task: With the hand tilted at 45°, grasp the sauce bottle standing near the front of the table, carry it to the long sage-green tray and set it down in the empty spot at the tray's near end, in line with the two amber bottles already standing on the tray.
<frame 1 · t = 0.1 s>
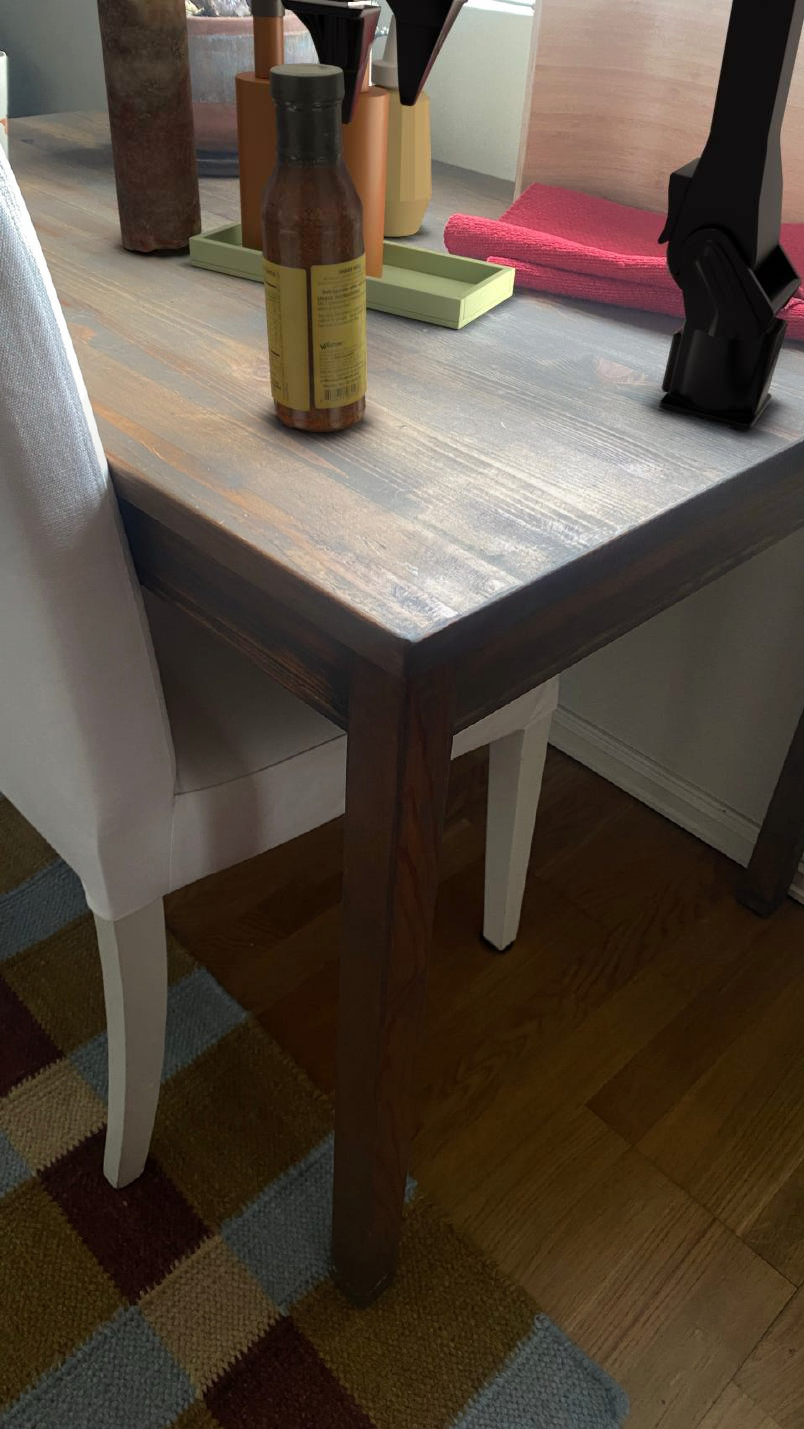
hand: (376, 114, 74), 15 cm above the table, tool pointing down, fingers open, 9 cm apart
bottle tray: (349, 280, 91), on the table
sauce bottle: (316, 419, 69), on the table
squeeze bottle: (389, 232, 104), on the table
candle: (163, 247, 97), on the table
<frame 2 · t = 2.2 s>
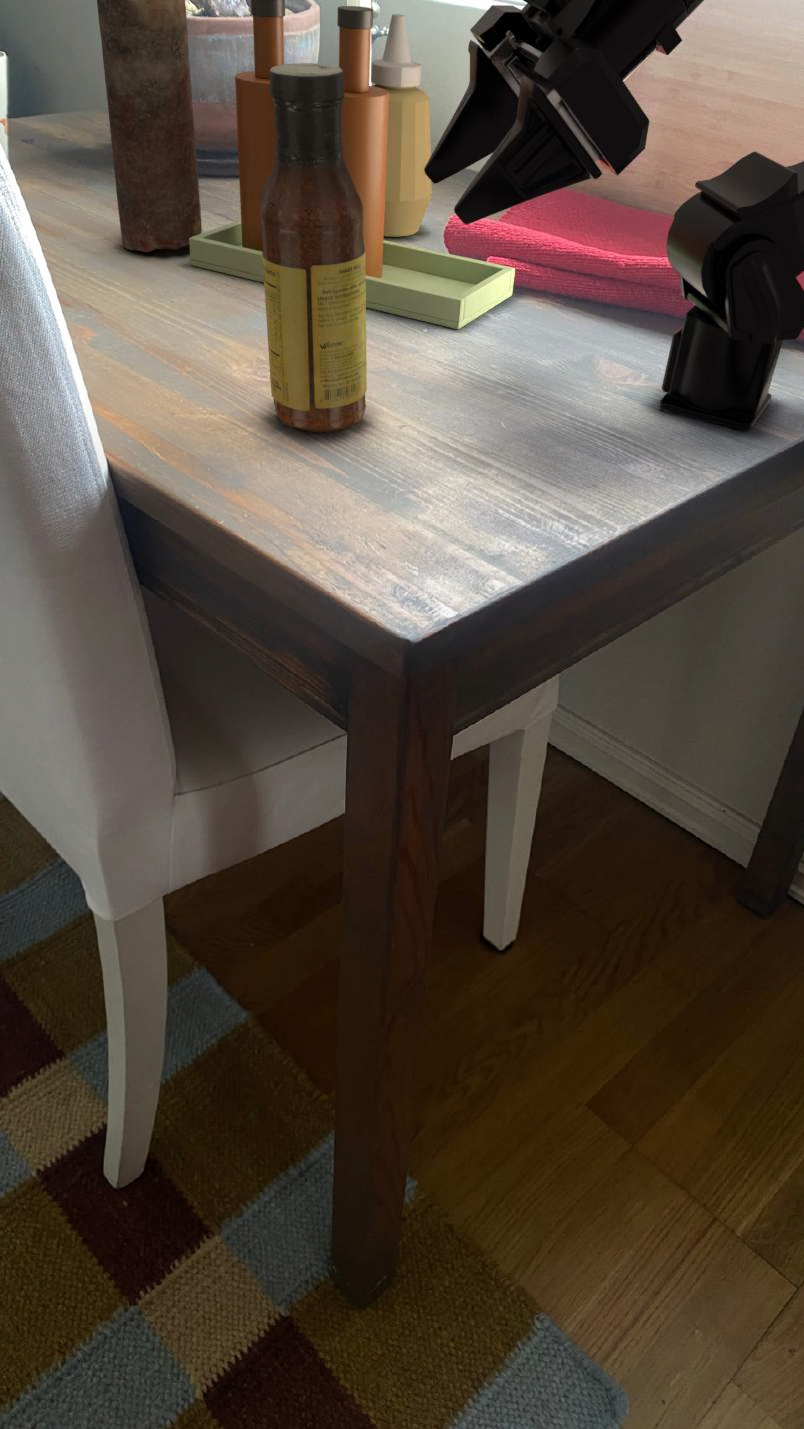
hand: (443, 196, 62), 13 cm above the table, tool tilted 45°, fingers open, 9 cm apart
nothing on the table moved.
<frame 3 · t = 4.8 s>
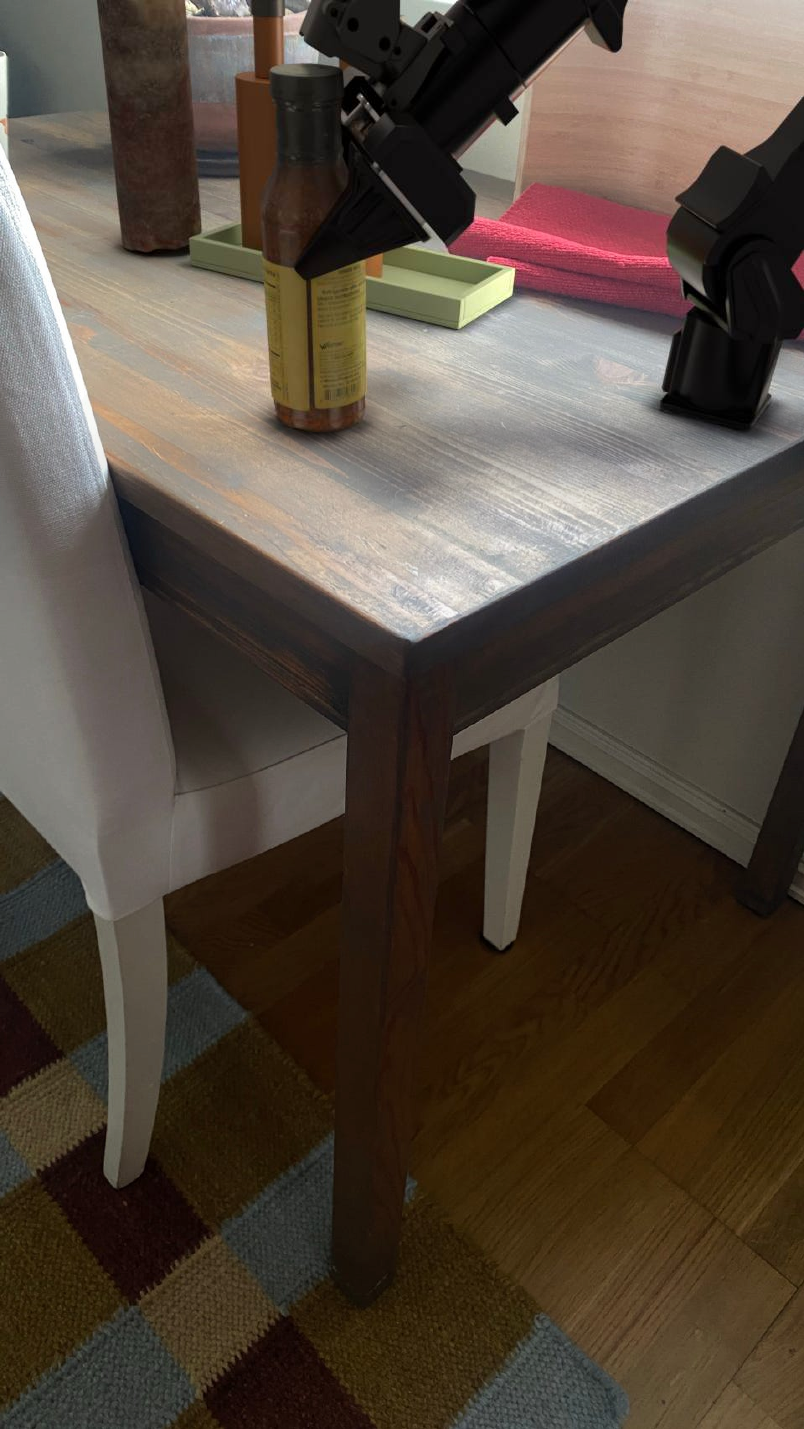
hand: (293, 257, 62), 10 cm above the table, tool tilted 45°, fingers closed on sauce bottle, 6 cm apart
sauce bottle: (316, 419, 69), on the table, touching gripper
everything else where it was.
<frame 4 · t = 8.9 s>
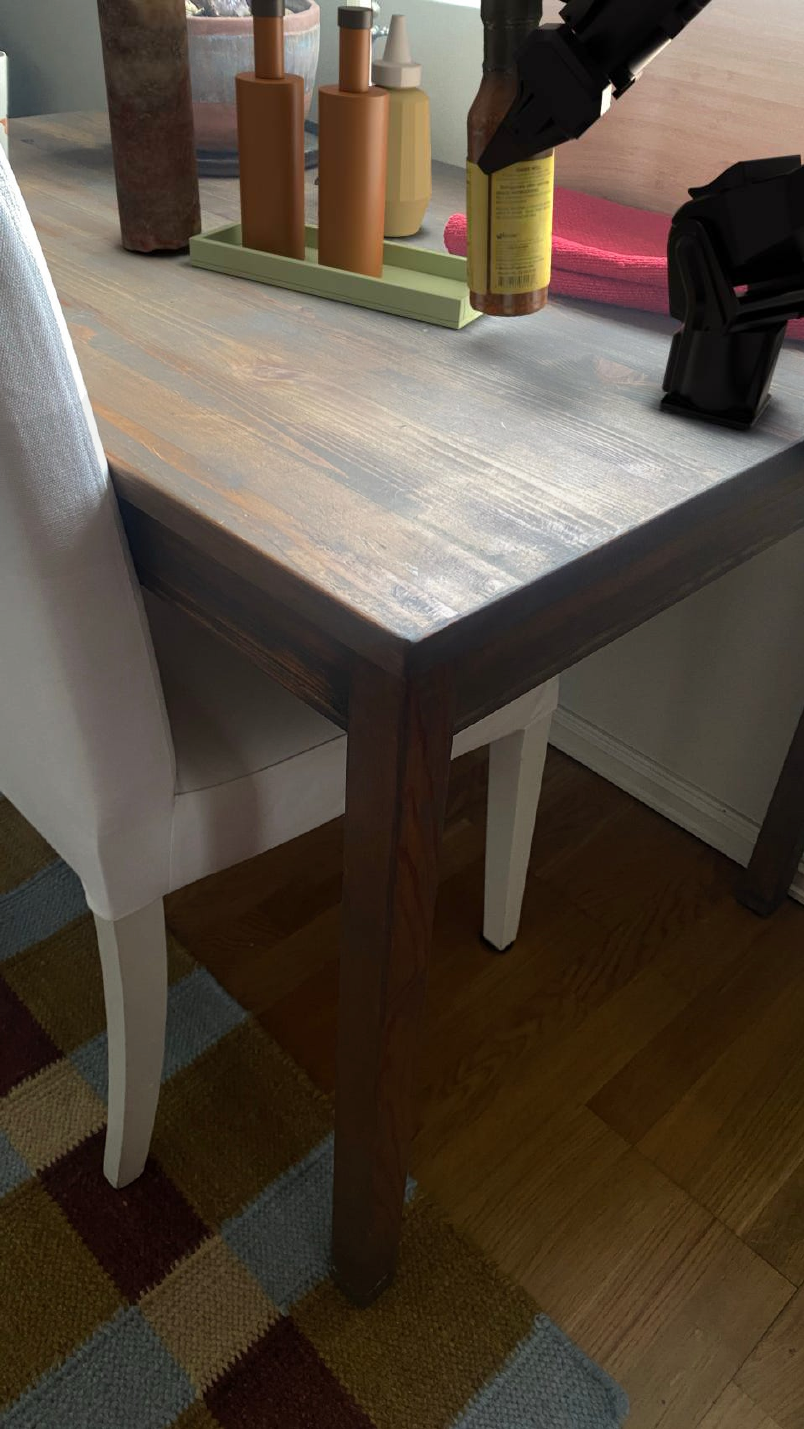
hand: (493, 159, 74), 13 cm above the table, tool tilted 40°, fingers closed on sauce bottle, 6 cm apart
sauce bottle: (504, 310, 80), point 3 cm above the table, touching gripper
everything else where it was.
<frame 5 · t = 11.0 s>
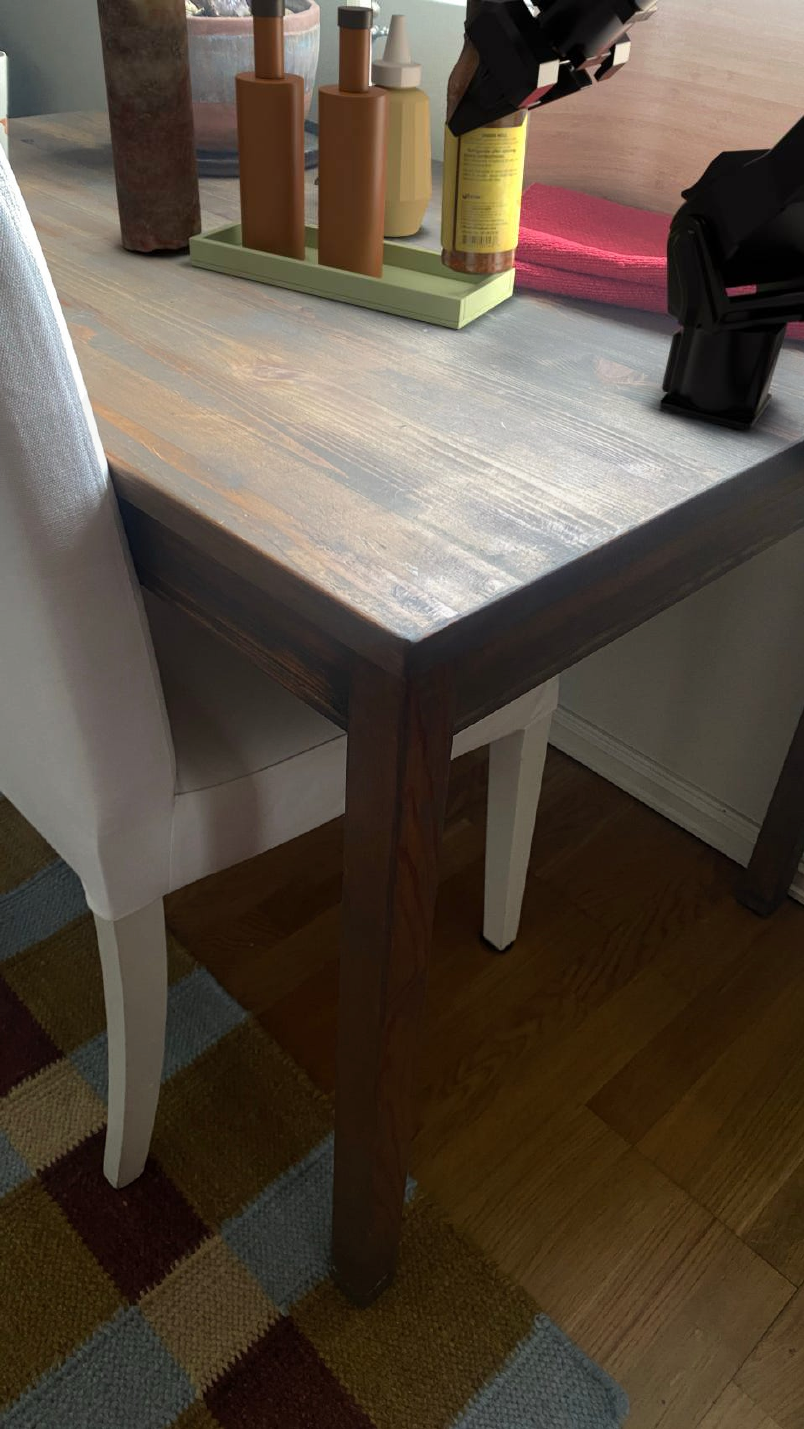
hand: (471, 125, 79), 13 cm above the table, tool tilted 45°, fingers closed on sauce bottle, 6 cm apart
sauce bottle: (474, 269, 85), point 3 cm above the table, touching gripper
everything else where it was.
when the fingers open (11 cm above the table, at t = 12.9 s): sauce bottle stays where it is, resting on bottle tray.
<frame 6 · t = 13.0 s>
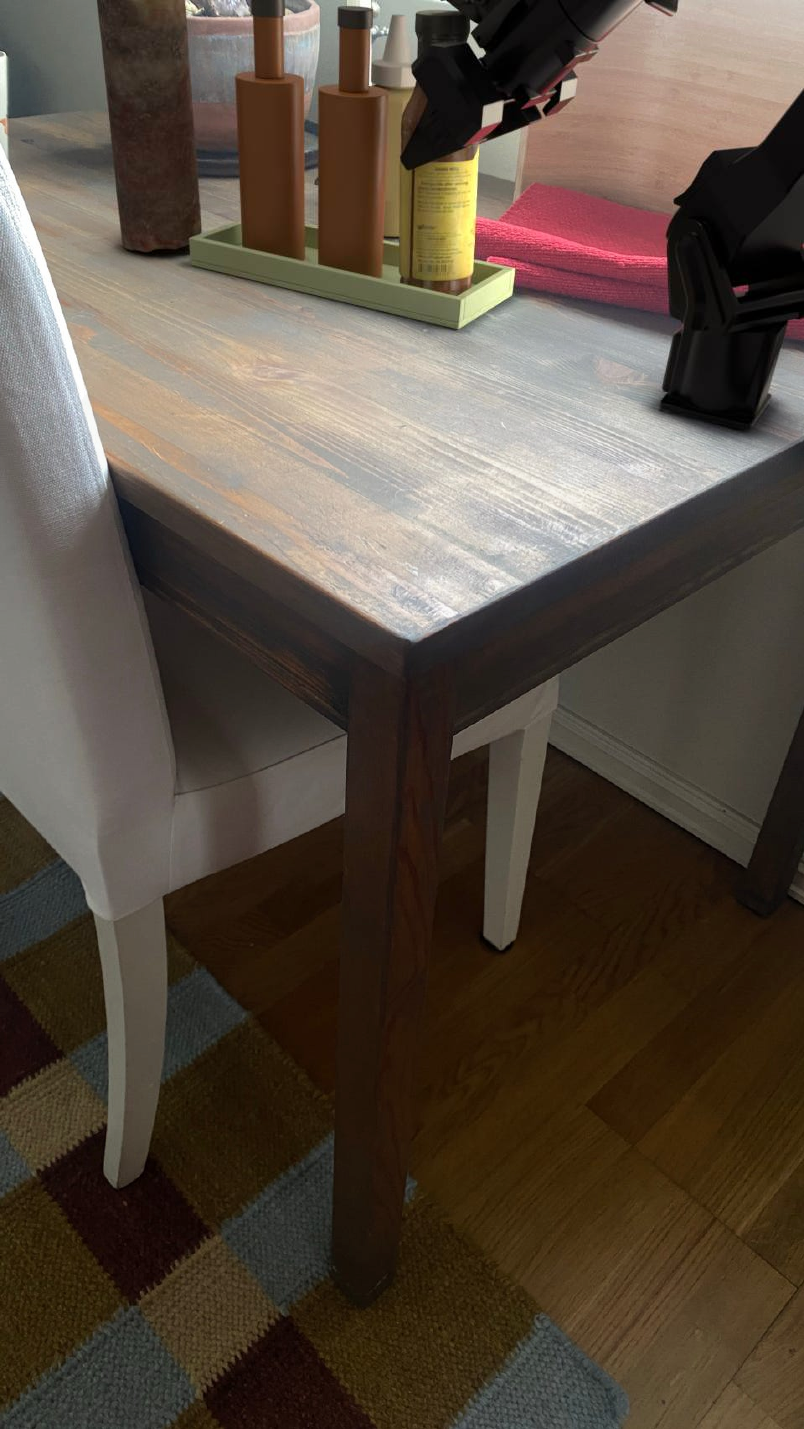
hand: (424, 157, 82), 11 cm above the table, tool tilted 45°, fingers open, 6 cm apart
sauce bottle: (432, 295, 88), resting on bottle tray
everything else where it was.
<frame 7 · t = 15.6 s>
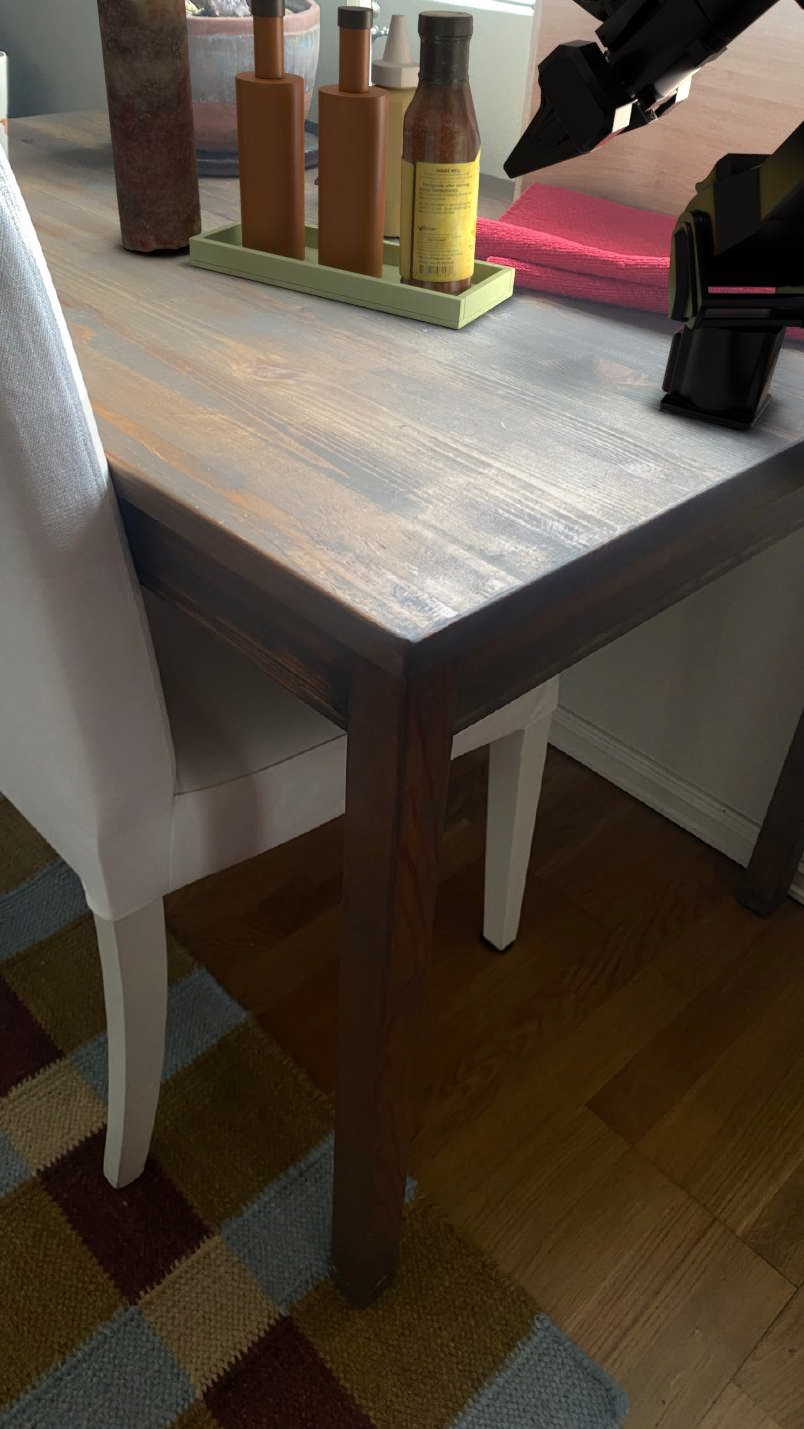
hand: (531, 161, 79), 12 cm above the table, tool tilted 45°, fingers open, 9 cm apart
nothing on the table moved.
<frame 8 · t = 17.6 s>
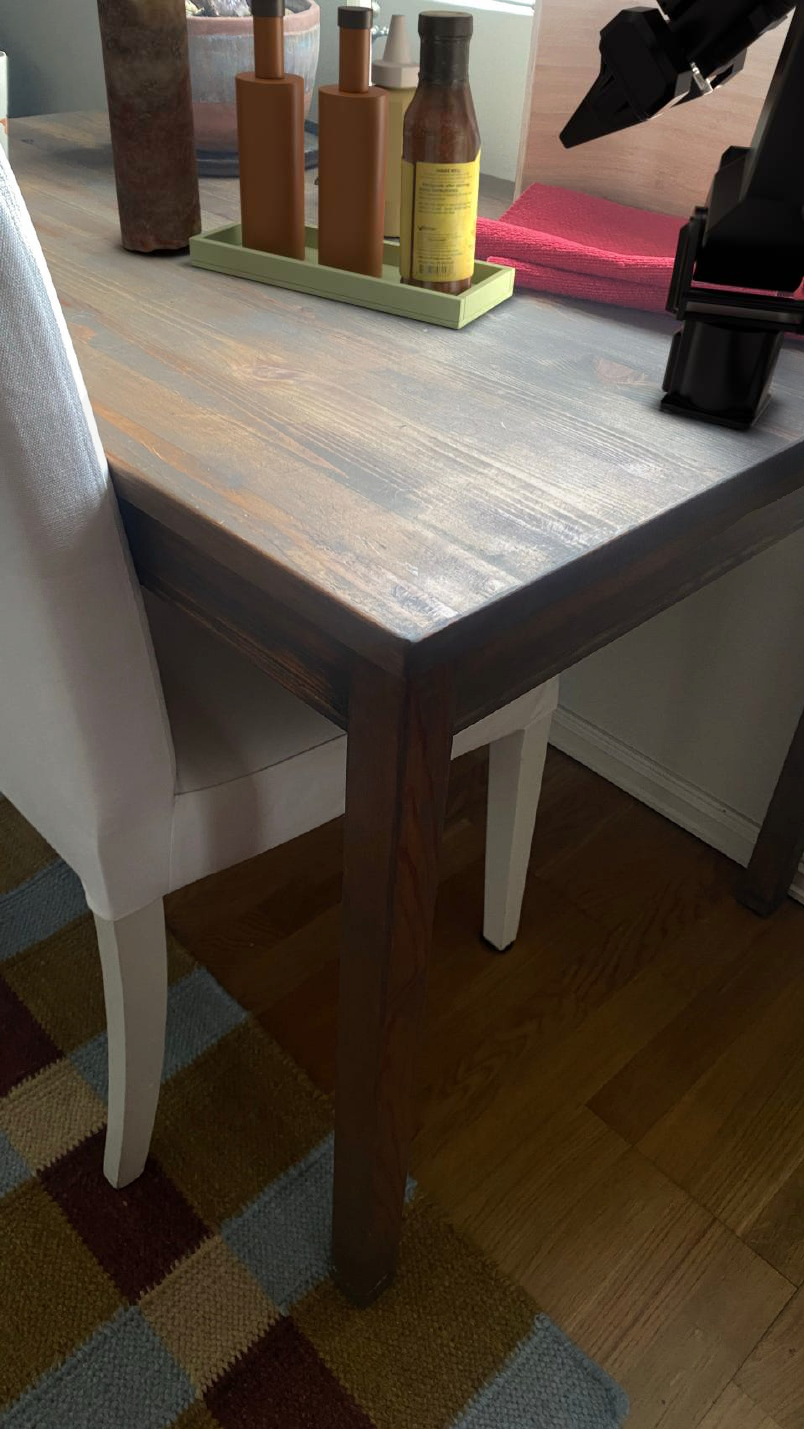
hand: (585, 133, 78), 14 cm above the table, tool tilted 45°, fingers open, 9 cm apart
nothing on the table moved.
at the end: sauce bottle 0.4 cm from the target spot on the bottle tray, point 0.3 cm above the bottle tray's base; sauce bottle tilted 0°; the gripper is holding nothing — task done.
